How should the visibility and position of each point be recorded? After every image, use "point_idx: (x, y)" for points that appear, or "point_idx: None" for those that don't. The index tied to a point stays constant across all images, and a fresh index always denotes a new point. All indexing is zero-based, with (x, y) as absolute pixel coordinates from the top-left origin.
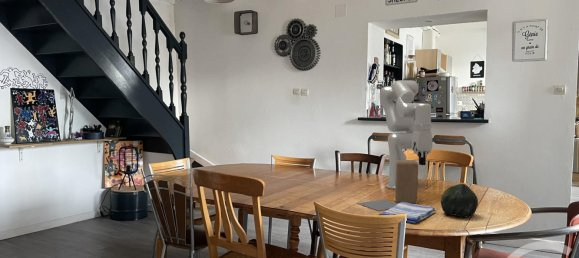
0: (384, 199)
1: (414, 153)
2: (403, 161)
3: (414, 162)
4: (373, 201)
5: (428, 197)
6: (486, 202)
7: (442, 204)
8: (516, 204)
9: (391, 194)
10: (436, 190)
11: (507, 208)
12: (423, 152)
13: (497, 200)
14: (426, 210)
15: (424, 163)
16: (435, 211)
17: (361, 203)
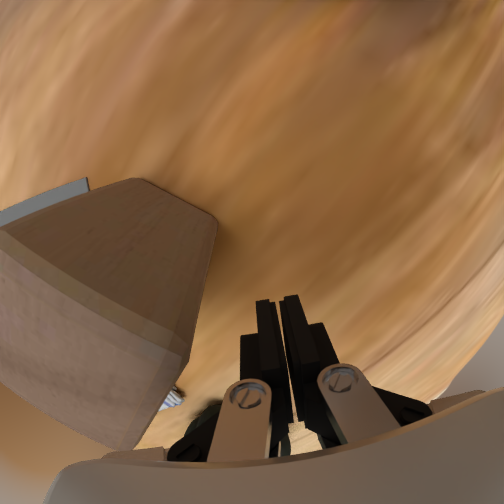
0: (83, 179)
1: (120, 455)
2: (23, 379)
3: (103, 444)
4: (38, 204)
5: (324, 190)
6: (436, 330)
7: None
8: (463, 358)
9: (178, 66)
10: (444, 88)
11: (412, 389)
12: (370, 430)
13: (475, 313)
14: None
15: (288, 368)
16: (182, 400)
17: (4, 223)
